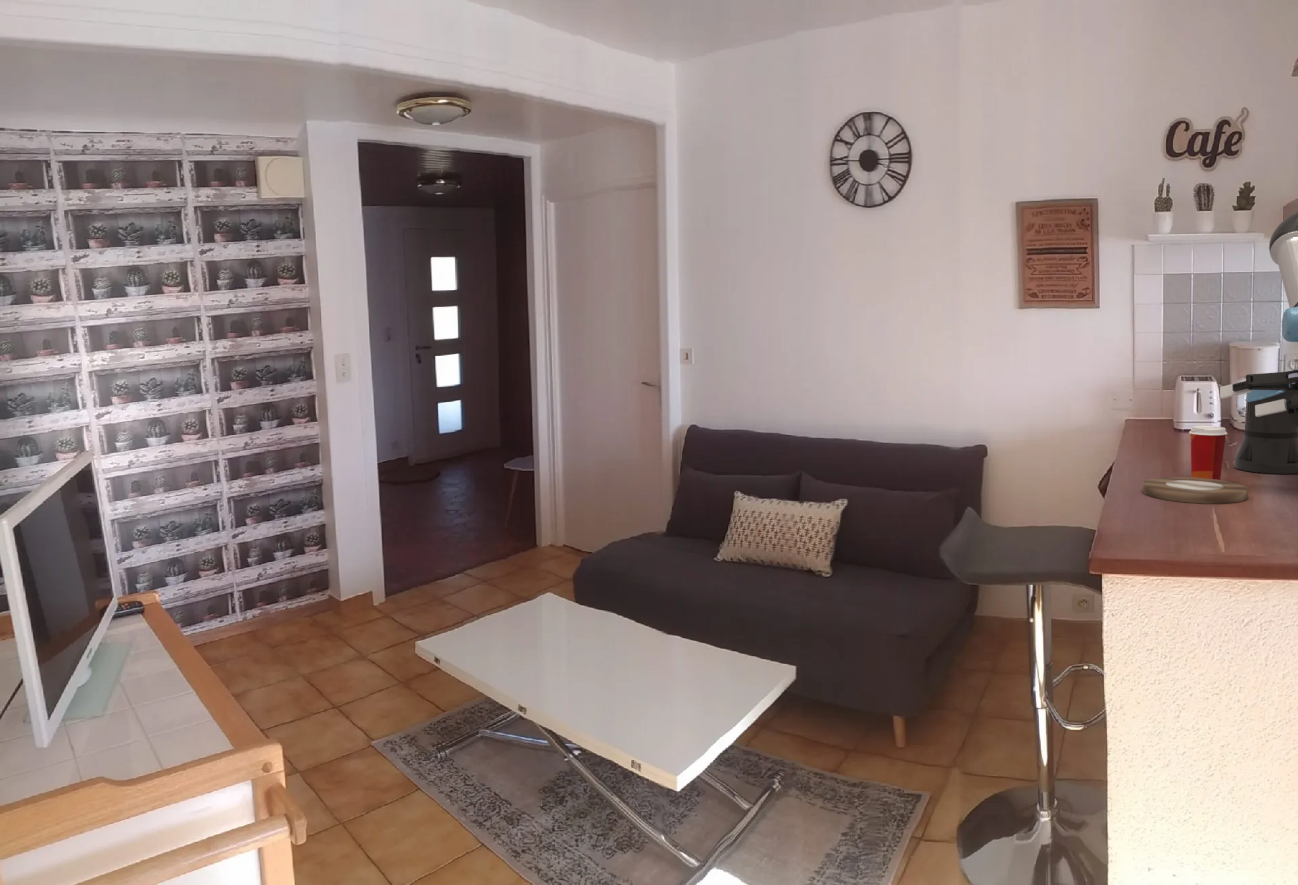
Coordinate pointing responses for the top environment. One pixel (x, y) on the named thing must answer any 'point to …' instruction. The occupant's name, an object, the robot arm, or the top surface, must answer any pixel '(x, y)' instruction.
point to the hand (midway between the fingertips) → (1238, 402)
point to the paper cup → (1207, 451)
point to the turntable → (1195, 490)
